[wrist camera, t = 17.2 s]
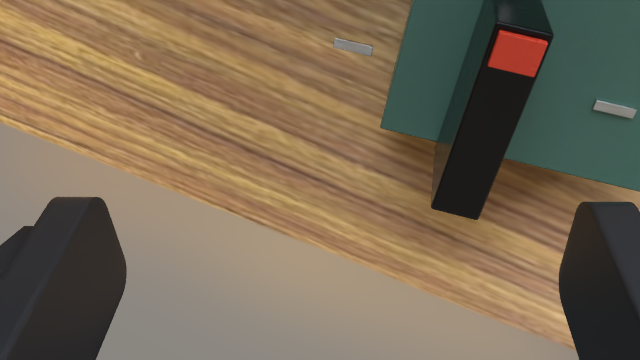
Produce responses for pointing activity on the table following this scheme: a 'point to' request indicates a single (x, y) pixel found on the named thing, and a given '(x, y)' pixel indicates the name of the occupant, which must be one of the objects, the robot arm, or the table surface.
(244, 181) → the table surface
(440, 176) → the black flat block
